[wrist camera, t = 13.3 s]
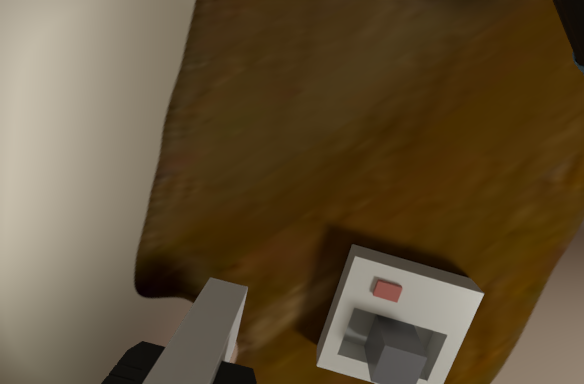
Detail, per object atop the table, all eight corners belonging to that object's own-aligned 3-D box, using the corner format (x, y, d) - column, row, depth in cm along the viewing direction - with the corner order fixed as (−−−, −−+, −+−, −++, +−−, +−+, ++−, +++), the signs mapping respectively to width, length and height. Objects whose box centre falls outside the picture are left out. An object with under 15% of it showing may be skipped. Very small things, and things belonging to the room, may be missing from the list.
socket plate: (352, 243, 49) (355, 258, 44) (470, 278, 49) (486, 296, 44) (316, 346, 53) (316, 369, 48) (426, 378, 52) (436, 404, 48)
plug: (374, 307, 50) (384, 345, 42) (410, 318, 50) (427, 357, 42) (362, 339, 51) (370, 381, 43) (398, 349, 51) (412, 393, 43)
